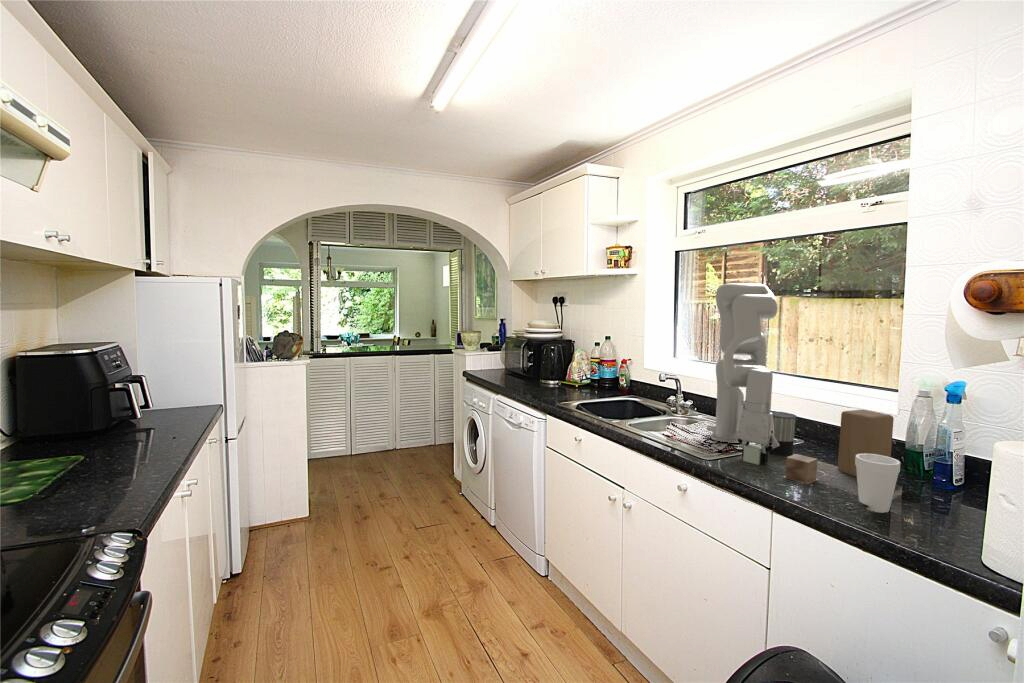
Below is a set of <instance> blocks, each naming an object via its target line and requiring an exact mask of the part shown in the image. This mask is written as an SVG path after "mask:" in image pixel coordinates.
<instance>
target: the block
mask: <svg viewBox="0 0 1024 683" xmlns="http://www.w3.org/2000/svg"><path fill="white" fill-rule="evenodd" d="M894 420H895V418H894V416H892V414H886V413H882V412H878V411H872V410H867V409H854V410H844V411H842V412H841V415H840V427H839V428H840V429H839V430H840V431H839V445H838V456H837V457H838V458H837V459H838V460H837V471H839V472H841V473H845V474H848V475H851V476H855V477H857V469H856V465H855V459H856V455H857V454H877V455H882V456H887V457H891V458H892V447H893V446H892V445H893V431H894Z"/></svg>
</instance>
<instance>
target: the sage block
mask: <svg viewBox="0 0 1024 683" xmlns="http://www.w3.org/2000/svg"><path fill="white" fill-rule="evenodd" d="M761 453H762V449H761V444H756V443H750V444H748V445H745V446H744V454H743V457H742V461H743V462H745V463H749V464H750V463H751V464H754V465H757V466H759V465H761V464H760V454H761Z"/></svg>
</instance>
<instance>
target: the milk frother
mask: <svg viewBox="0 0 1024 683" xmlns="http://www.w3.org/2000/svg"><path fill="white" fill-rule="evenodd" d="M770 413H772V414H773V420H774V437H775V438H776V440H777V441H778V443H779V446H778V447H776V448H774V449H773V450H771V451H770V452H768V454H771V455H776V456H783V457H789V456H792V455H794V440H795V429H796V419H797V415H796V414H793V413H790V412H785V411H775V410H774V411H771V412H770ZM755 444H756V445H758V444H757V443H755ZM770 445H772V443H769V446H770Z"/></svg>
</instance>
